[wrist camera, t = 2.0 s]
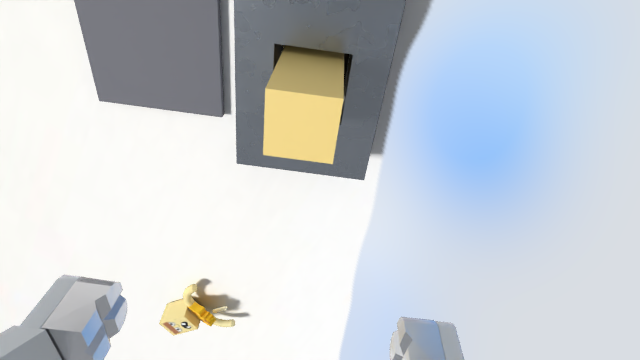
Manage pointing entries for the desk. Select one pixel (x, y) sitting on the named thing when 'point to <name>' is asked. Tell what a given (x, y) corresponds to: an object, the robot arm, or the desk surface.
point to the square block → (304, 105)
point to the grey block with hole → (322, 34)
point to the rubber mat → (155, 53)
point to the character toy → (190, 314)
